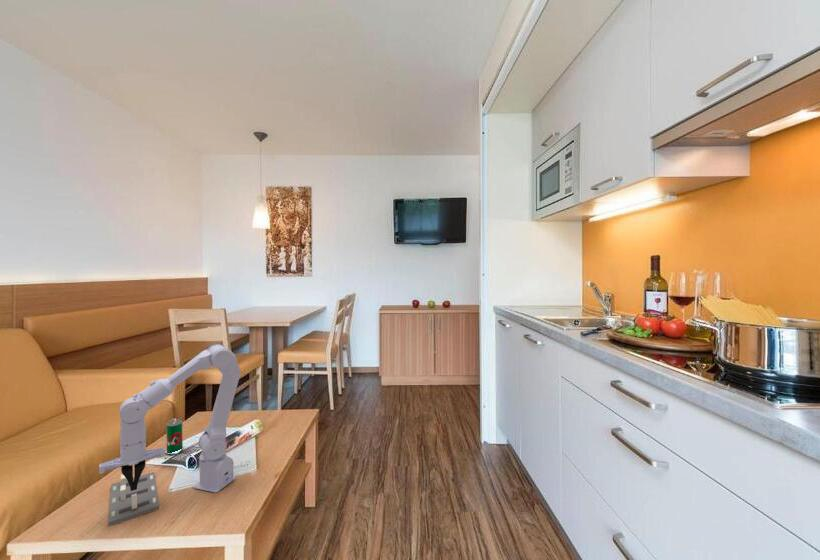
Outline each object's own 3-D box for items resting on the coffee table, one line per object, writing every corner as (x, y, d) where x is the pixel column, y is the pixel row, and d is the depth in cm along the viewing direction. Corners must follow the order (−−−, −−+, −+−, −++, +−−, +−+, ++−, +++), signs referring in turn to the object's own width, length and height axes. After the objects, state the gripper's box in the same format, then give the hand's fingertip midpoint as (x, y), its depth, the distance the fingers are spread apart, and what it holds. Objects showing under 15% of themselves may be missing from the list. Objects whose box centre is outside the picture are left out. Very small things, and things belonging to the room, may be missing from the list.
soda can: (185, 449, 134) (185, 418, 134) (175, 456, 129) (175, 424, 129) (173, 448, 135) (173, 417, 134) (163, 455, 129) (162, 423, 129)
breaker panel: (154, 474, 117) (154, 462, 117) (158, 508, 100) (158, 494, 100) (111, 487, 110) (111, 474, 110) (108, 526, 93) (108, 511, 93)
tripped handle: (136, 502, 101) (136, 493, 101) (137, 507, 98) (137, 498, 98) (131, 504, 100) (131, 494, 100) (131, 509, 98) (131, 500, 98)
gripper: (98, 455, 91) (98, 506, 91) (165, 438, 100) (166, 485, 101) (99, 445, 97) (100, 493, 97) (163, 430, 106) (163, 474, 106)
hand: (133, 488), depth 99 cm, fingers closed
